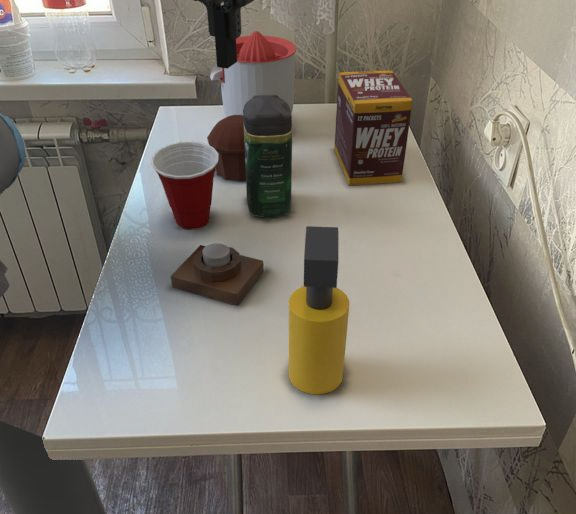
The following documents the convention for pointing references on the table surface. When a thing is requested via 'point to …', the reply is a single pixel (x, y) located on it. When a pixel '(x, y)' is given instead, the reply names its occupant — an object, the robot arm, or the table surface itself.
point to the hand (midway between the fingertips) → (227, 64)
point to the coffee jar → (268, 155)
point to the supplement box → (371, 126)
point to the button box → (218, 277)
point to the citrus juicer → (258, 72)
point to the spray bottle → (318, 317)
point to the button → (216, 255)
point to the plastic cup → (187, 180)
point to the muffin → (229, 147)
